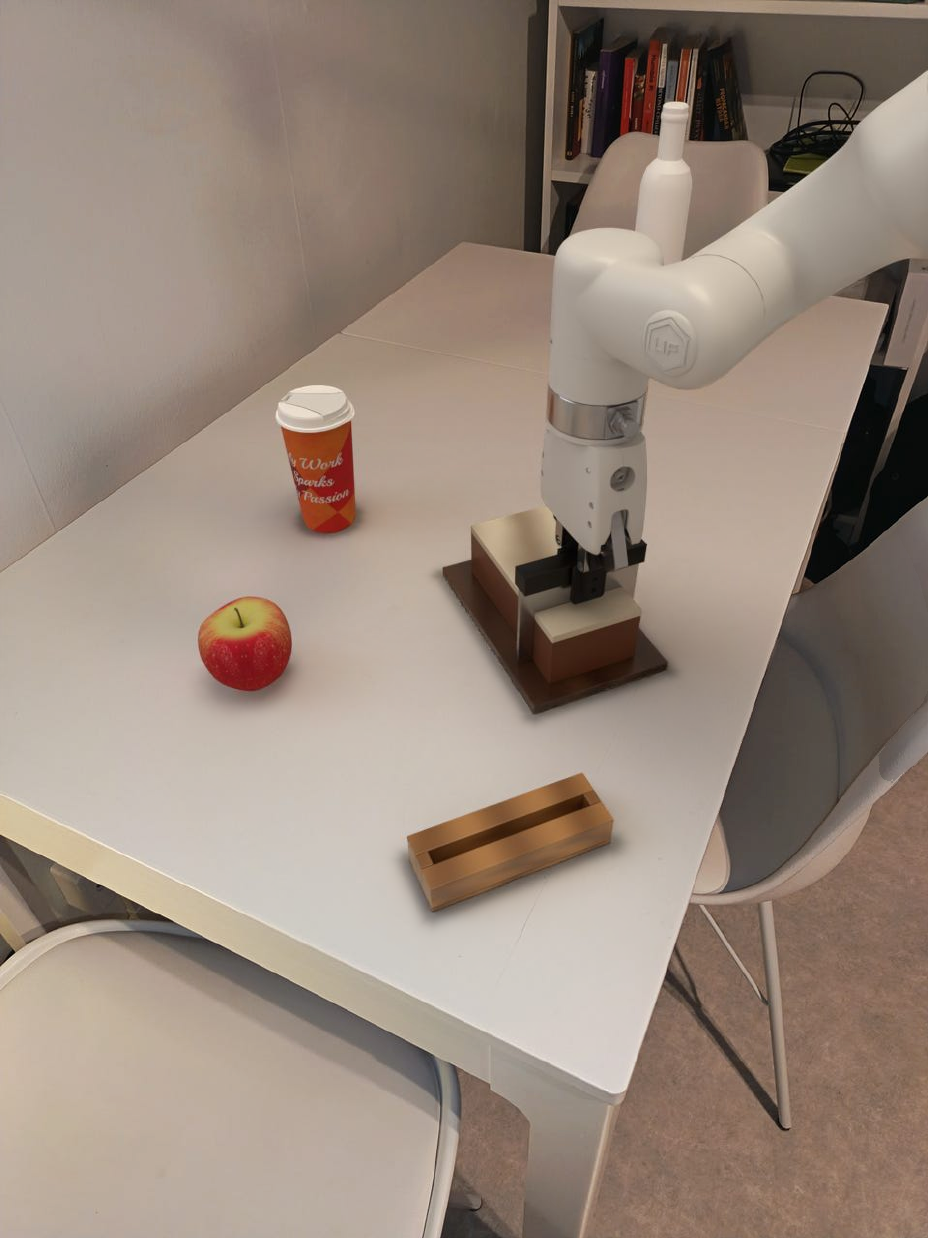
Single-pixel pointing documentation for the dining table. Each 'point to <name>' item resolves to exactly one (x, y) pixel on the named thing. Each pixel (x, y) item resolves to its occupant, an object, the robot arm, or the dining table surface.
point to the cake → (495, 608)
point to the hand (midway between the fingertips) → (579, 588)
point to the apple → (246, 643)
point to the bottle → (667, 187)
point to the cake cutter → (561, 587)
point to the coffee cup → (320, 454)
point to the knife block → (508, 840)
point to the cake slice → (585, 635)
